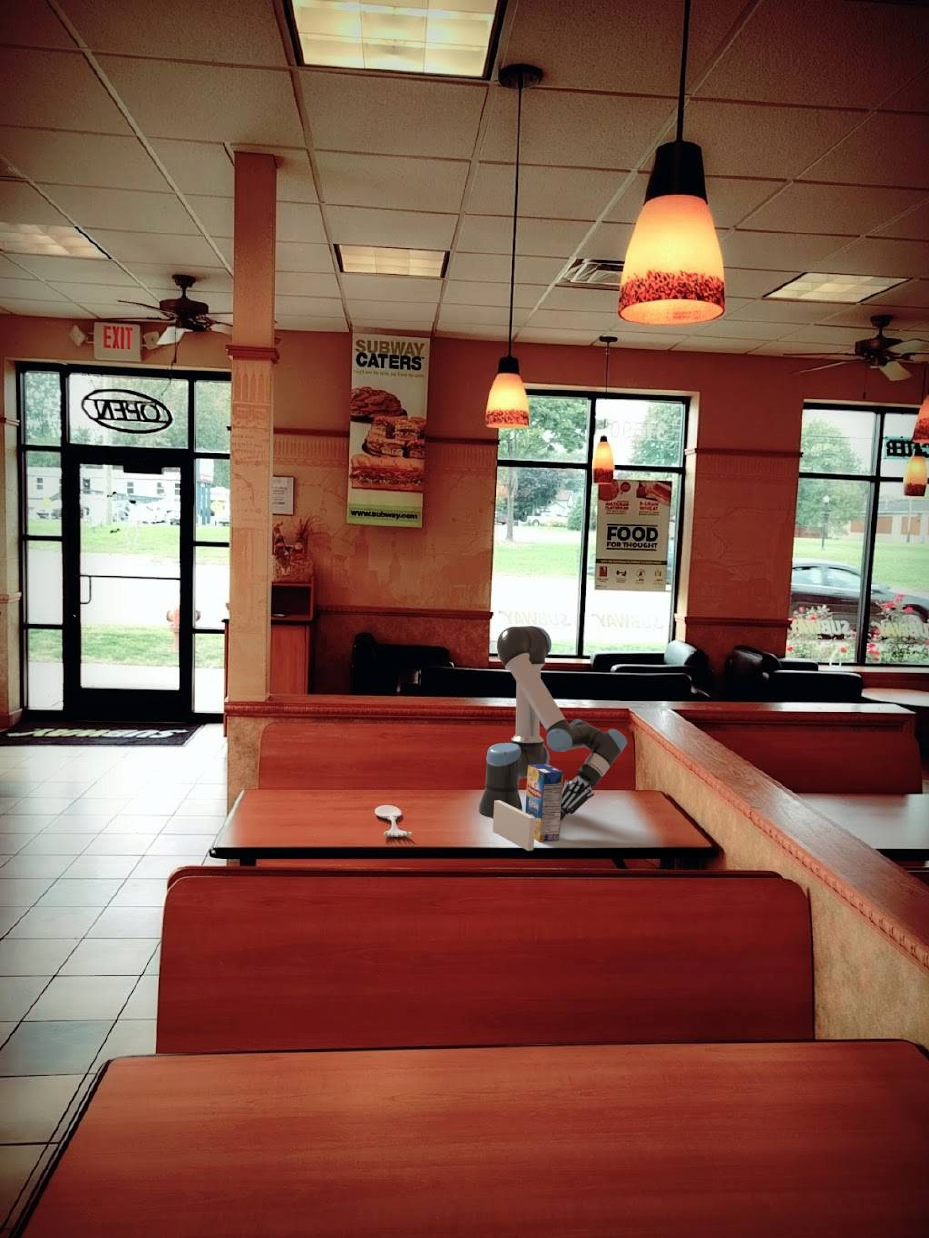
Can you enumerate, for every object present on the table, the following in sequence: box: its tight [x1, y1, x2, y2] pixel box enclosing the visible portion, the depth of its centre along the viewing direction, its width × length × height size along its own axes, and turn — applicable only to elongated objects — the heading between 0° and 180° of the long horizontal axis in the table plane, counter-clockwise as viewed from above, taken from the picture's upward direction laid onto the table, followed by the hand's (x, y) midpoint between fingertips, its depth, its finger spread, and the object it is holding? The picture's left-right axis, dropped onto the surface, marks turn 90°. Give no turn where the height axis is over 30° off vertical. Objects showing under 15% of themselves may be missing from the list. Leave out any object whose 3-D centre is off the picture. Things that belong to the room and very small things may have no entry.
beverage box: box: [524, 764, 564, 843], centre depth 266 cm, size 7×11×22 cm, turn 23°
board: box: [492, 800, 535, 852], centre depth 261 cm, size 20×2×10 cm, turn 30°
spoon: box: [374, 804, 413, 838], centre depth 269 cm, size 9×32×4 cm, turn 11°
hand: (549, 826), depth 267 cm, fingers closed
